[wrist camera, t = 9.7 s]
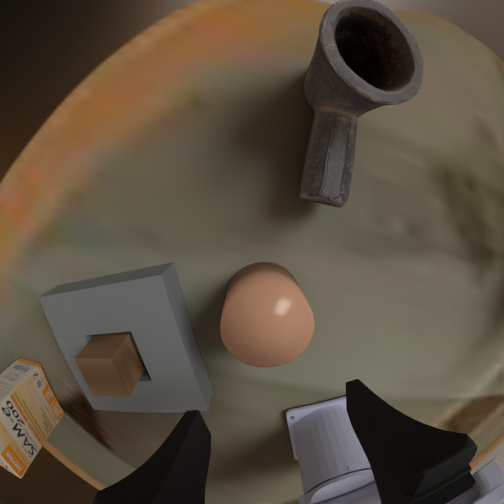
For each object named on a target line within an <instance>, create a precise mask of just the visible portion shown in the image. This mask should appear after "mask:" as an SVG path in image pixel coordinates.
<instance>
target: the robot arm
mask: <svg viewBox="0 0 504 504" xmlns="http://www.w3.org/2000/svg"><path fill="white" fill-rule="evenodd" d="M291 416H293V417H291ZM286 418H287V423H288V428H289V433H290V439H291V444H292V449H293V454H294V459H296V460H298V462H299V467H300V473H301V479H302V485H303V490H304V495H303V496H300V497H298V500H299V504H501V503H502V502H503V501H504V469H503V467H502V466H501V465H500V463H499V462H498V461H497V459H496V458H494V459H493V460H491V461H490V462H489V463H487V464H486V465H485V466H483V467H482V468H481V469H479V470H478V471H477V472H475V473H474V474H473V475H471V473H470V471H471V467H470V466H469V463H470V461H471V460H472V458H473V457H474V455H475V453H476V451H477V445H476V444H475V443H474V441H473V440H472V439H471V438H470V437H469V436H468V435H467V434H462V433H456V432H450V431H445V430H441V429H438V428H435V427H432V426H429V425H426V424H423V423H421V422H419V421H417V420H414V419H412V418H410V417H408V416H407V415H405V414H403V413H401V412H400V411H398V410H396V409H395V408H393V407H392V406H390V405H389V404H388V403H386V402H385V401H384V400H382V399H381V398H380V397H378V396H377V395H376V394H375V393H373V392H372V391H371V390H370V389H369V388H368V387H366V386H365V385H364V384H363V383H362V382H361V381H360V380H359V379H356V380H353V381H349V382H346V396H344V397H341V398H337V399H333V400H329V401H325V402H321V403H317V404H313V405H308V406H304V407H299V408H294V409H289V410H287V411H286ZM210 453H211V434H210V432H209V430H208V428H207V426H206V424H205V422H204V420H203V418H202V416H201V414H200V412H199V410H189V411H186V412H185V414H184V415H183V417H182V418H181V420H180V421H179V422H178V424H177V425H176V427H175V428H174V430H173V431H172V432H171V434H170V435H169V436H168V438H167V439H166V440H165V441H164V443H163V444H162V445H161V446H160V447H159V449H158V450H157V451H156V452H155V453H154V454H153V455H152V456H151V457H150V458H149V459H148V460H147V461H146V462H145V463H144V464H143V465H142V466H140V467H139V468H138V469H136V470H135V471H134V472H132V473H131V474H130V475H128V476H127V477H125V478H124V479H122V480H121V481H119V482H117V483H115V484H113V485H111V486H109V487H107V488H105V489H103V490H101V491H98V492H97V493H96V496H95V498H94V500H93V503H92V504H205V485H206V479H207V472H208V466H209V460H210Z"/></svg>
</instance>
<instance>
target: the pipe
mask: <svg viewBox="0 0 504 504" xmlns="http://www.w3.org/2000/svg"><path fill="white" fill-rule="evenodd" d="M422 80H423V60H422V56H421V52H420V49H419V47H418V45H417V42H416V40H415V39H414V37H413V36H412V34H411V33H410V31H409V30H408V28H407V27H406V26H405V24H404V23H403V22H402V21H401V19H400V18H399V17H398V16H397V15H396V14H395V13H394V12H393V11H391V10H390V9H389V8H388V7H387V6H385V5H383V4H382V3H379V2H377V1H375V0H340V1H338V2H336V3H335V4H333V5H332V6H331V7H330V8H328V9H327V11H326V12H325V13H324V16H323V18H322V20H321V23H320V27H319V37H318V41H317V45H316V48H315V52H314V55H313V58H312V60H311V63H310V65H309V68H308V70H307V73H306V77H305V82H304V90H305V95H306V98H307V101H308V102H309V104H310V105H311V107H312V108H313V110H314V111H315V112H314V120H313V125H312V129H311V134H310V138H309V142H308V147H307V152H306V158H305V164H304V170H303V175H302V180H301V185H300V194H299V197H300V198H302V199H304V200H308V201H313V202H317V203H321V204H325V205H329V206H335V207H343V206H344V205H345V203H346V201H347V199H348V195H349V190H350V183H351V177H352V170H353V163H354V155H355V141H356V130H357V118H358V117H359V116H361V115H362V114H364V113H366V112H368V111H371V110H373V109H376V108H378V107H381V106H384V105H393V104H400V103H403V102H406V101H408V100H410V99H411V98H413V97H414V96H415V95H416V94H417V92H418V91H419V89H420V87H421V84H422Z"/></svg>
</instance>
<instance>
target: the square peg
mask: <svg viewBox="0 0 504 504" xmlns="http://www.w3.org/2000/svg"><path fill="white" fill-rule="evenodd" d="M74 359H75V361H76V363H77V365H78V367H79V369H80V371H81V373H82V375H83V377H84V379H85V381H86V383H87V384H88V386H89V388H90V390H91V392H92V393H93V395H97V396H112V397H130V396H131V394H132V392H133V390H134V388H135V386H136V384H137V383H138V381H139V379H140V377H141V375H142V373H143V371H144V369H145V367H146V366H145V364H144V362H143V359H142V357H141V355H140V352H139V350H138V348H137V345H136V343H135V340H134V338H133V335H132V333H131V331H129V332H119V333H108V334H96V335H95V337H94V338H93V339H92V340H91V341H90V342H89V343H88V344H87V345H86V346H85V347H84V348H83V349H82V350H81V352H80V353H79V354H78V355H77V356H76V357H75V358H74Z"/></svg>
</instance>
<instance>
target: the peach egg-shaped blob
mask: <svg viewBox="0 0 504 504" xmlns="http://www.w3.org/2000/svg"><path fill="white" fill-rule="evenodd" d="M314 326H315V325H314V316H313V313H312V310H311V308H310V306H309V304H308V302H307V300H306V298H305V296H304V294H303V292H302V291H301V289H300V287H299V285H298V283H297V281H296V279H295V278H294V276H293V275H292V274H291V273H290V272H289V271H288V270H286V269H285V268H283V267H282V266H280V265H277V264H274V263H268V262H260V263H254V264H251V265H248V266H246V267H244V268H242V269H241V270H240V271H238V272H237V273H236V274H235V275H234V277H233V278H232V279H231V281H230V283H229V285H228V288H227V292H226V297H225V302H224V307H223V312H222V317H221V322H220V333H221V338H222V341H223V343H224V345H225V347H226V348H227V350H228V351H229V352H230V353H231V354H232V355H233V356H234V357H235V358H237V359H238V360H240V361H241V362H244V363H246V364H249V365H252V366H256V367H275V366H279V365H282V364H285V363H288V362H290V361H292V360H293V359H295V358H296V357H298V356H299V355H300V354H301V353H302V352H303V351H304V350H305V349H306V347H307V346H308V345H309V343H310V341H311V339H312V336H313V333H314Z"/></svg>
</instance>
